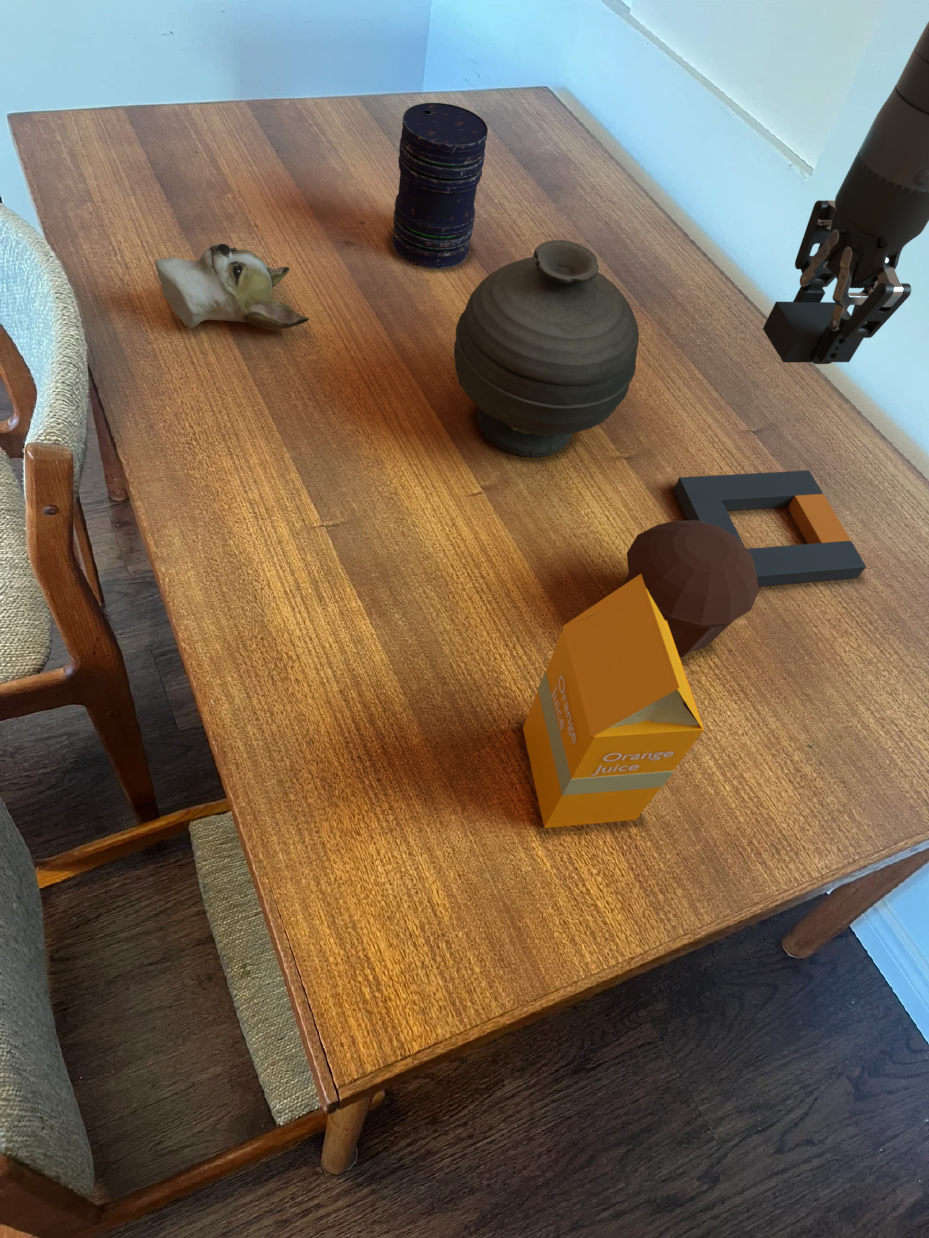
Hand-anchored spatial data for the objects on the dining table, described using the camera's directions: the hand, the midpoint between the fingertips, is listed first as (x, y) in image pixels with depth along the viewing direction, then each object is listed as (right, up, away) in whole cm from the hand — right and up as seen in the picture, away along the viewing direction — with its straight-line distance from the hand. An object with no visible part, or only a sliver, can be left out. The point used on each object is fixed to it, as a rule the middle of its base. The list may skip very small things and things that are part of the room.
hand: (807, 341), depth 82 cm
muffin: (-14, -26, -2) cm, 29 cm away
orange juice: (-23, -38, -12) cm, 47 cm away
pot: (-26, -6, +11) cm, 29 cm away
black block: (0, 0, 0) cm, 0 cm away
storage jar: (-37, +21, +28) cm, 51 cm away
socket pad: (-2, -17, +7) cm, 19 cm away
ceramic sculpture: (-58, +7, +15) cm, 60 cm away
